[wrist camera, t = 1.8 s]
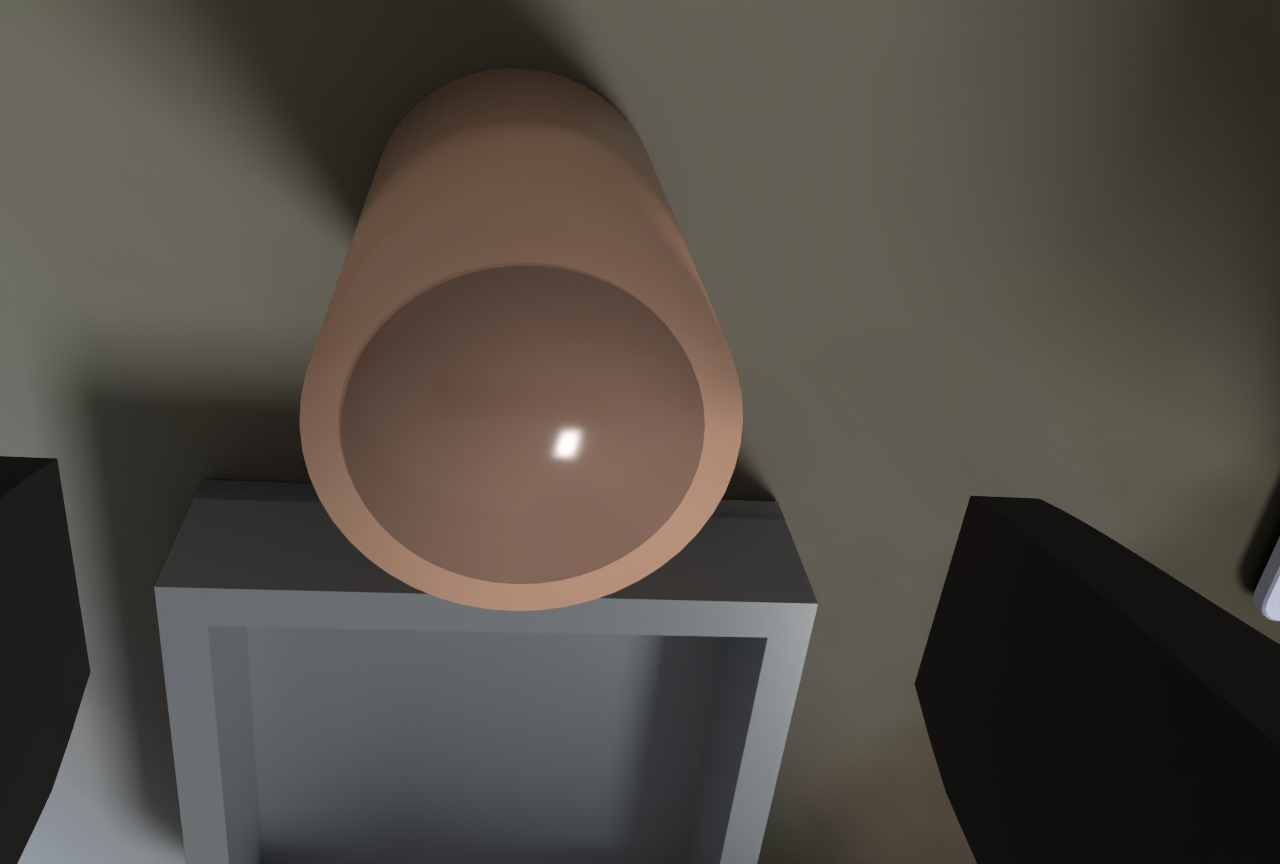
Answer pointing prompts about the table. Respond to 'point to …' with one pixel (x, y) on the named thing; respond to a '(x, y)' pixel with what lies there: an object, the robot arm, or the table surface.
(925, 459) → the table surface
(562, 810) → the tray
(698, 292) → the cup
